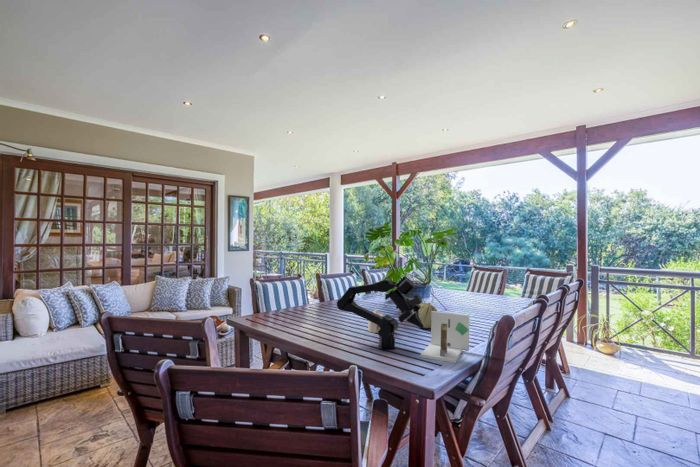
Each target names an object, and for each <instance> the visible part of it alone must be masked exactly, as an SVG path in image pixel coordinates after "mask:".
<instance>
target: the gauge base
mask: <svg viewBox="0 0 700 467" xmlns="http://www.w3.org/2000/svg"><path fill="white" fill-rule="evenodd" d="M442 323H443V324H447V351H446V353H445V350H441V324H442ZM430 330H431V331H430V343H429V345H428V346H427V347H426V348H425V349H424V350H423V351H422V352H421V353H420V358H422V359H423V358H424V359H429V360H436V361H441V362H447V363H452V364H456V363H457V361H458V360H459V359H460V356H461V354H462V353H463V350H466V351H470V314H462V313H452V312H444V311H443V312H442V311H437V312H436V311H431V328H430Z"/></svg>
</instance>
